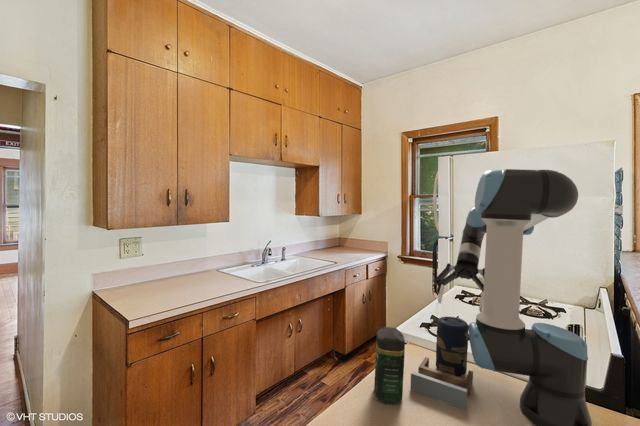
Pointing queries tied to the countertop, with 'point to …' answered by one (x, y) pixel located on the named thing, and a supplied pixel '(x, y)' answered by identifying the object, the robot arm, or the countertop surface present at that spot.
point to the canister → (452, 346)
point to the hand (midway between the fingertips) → (459, 305)
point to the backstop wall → (439, 390)
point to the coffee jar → (389, 365)
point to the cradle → (446, 376)
